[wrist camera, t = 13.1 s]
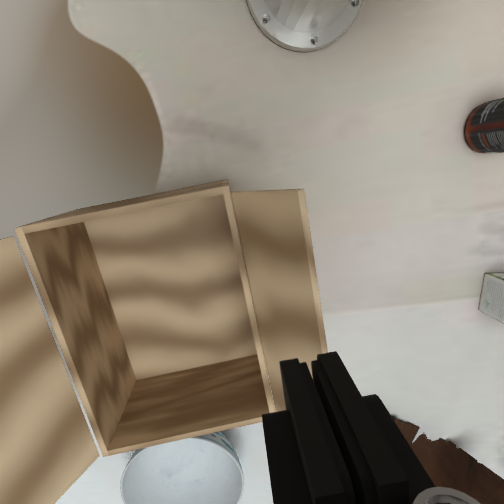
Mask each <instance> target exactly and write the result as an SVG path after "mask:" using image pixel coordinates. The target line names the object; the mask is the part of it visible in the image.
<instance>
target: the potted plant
mask: <svg viewBox="0 0 504 504" xmlns="http://www.w3.org/2000/svg"><path fill="white" fill-rule="evenodd" d="M393 420H394V419H393ZM394 422H395V423H396V425H397V426H398V428H399V429H400V431H401V433H402V434H403V436H404V437H405V439H406V441H407V442H408V444H409V445H410V447H411V448H412V450H413V452H414V453H415V455H416V456H417V458H418V460H419V461H420V463H421V464H422V466H423V468H424V469H425V471H426V472H427V474H428V475H429V477H430V479H431V480H432V482H433V483H434V485H435V487H446V488H452V489H455V490H458V491H460V492H463V493H465V494H467V495H469V496H470V497H472V498H474V499H475V500H477V501H478V502H479V503H480V504H504V479H502V478H501V477H499V476H498V475H497V474H495V473H494V472H493V471H491V470H490V469H488V468H487V467H486V466H484V465H483V464H481V463H478V462H477V460H476V459H475V458H473V457H472V456H470V455H469V454H468V453H466V452H465V451H463V450H462V449H461V448H459V449H458V448H456V445H455V444H453V443H452V442H451V441H448V442H445V440H443V439H441V438H439V440H436V441H432V442H431V440H430V439H427V437H426V435H425V434H422V435H420V436H419V437H418V438H417V439H416V440H415V442H413V444H412V441H413V439H414V438H415V435H416V434H417V432H418V430H419V428H420V427H418V426H416V425H412V424H410V423H407V424H406V422H403V423H402V421H401V422H400V421H399V420H398V419H395V420H394ZM425 437H426V438H425Z"/></svg>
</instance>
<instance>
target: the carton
mask: <svg viewBox="0 0 504 504" xmlns="http://www.w3.org/2000/svg"><path fill="white" fill-rule="evenodd" d="M15 232H16V234H17V237H18V239H19V242H20V245H21V247H22V250H23V252H24V255H25V257H26V260H27V262H28V265H29V268H30V270H31V273H32V275H33V278H34V281H35V283H36V285H37V288H38V291H39V293H40V296H41V298H42V301H43V304H44V306H45V309H46V311H47V314H48V316H49V319H50V322H51V324H52V327H53V329H54V332H55V334H56V337H57V340H58V342H59V345H60V347H61V350H62V352H63V355H64V358H65V360H66V363H67V365H68V368H69V370H70V373H71V375H72V378H73V381H74V383H75V386H76V388H77V391H78V393H79V396H80V399H81V401H82V404H83V406H84V409H85V411H86V414H87V417H88V419H89V422H90V424H91V427H92V429H93V432H94V435H95V437H96V440H97V442H98V445H99V447H100V450H101V452H102V455H103V457H105V456H110V455H114V454H119V453H123V452H128V451H132V450H137V449H141V448H146V447H150V446H155V445H159V444H164V443H169V442H173V441H178V440H182V439H187V438H191V437H196V436H200V435H205V434H209V433H214V432H218V431H223V430H227V429H232V428H236V427H241V426H245V425H250V424H255V423H259V422H263V421H262V414H267V413H272V412H275V407H274V402H273V398H272V393H271V388H270V383H269V378H268V373H267V368H266V364H265V359H264V354H263V349H262V344H261V339H260V334H259V329H258V325H257V320H256V315H255V310H254V305H253V300H252V295H251V290H250V286H249V281H248V276H247V271H246V266H245V261H244V256H243V252H242V247H241V242H240V237H239V232H238V227H237V222H236V217H235V213H234V208H233V203H232V198H231V193H230V188H229V184H228V179H227V180H222V181H217V182H212V183H207V184H202V185H197V186H192V187H187V188H182V189H177V190H172V191H167V192H162V193H157V194H152V195H147V196H142V197H137V198H132V199H127V200H122V201H117V202H112V203H107V204H102V205H97V206H92V207H87V208H82V209H77V210H73V211H70V212H67V213H63V214H60V215H57V216H53V217H50V218H47V219H43V220H40V221H37V222H33V223H30V224H27V225H23V226H20V227H17V228H15Z"/></svg>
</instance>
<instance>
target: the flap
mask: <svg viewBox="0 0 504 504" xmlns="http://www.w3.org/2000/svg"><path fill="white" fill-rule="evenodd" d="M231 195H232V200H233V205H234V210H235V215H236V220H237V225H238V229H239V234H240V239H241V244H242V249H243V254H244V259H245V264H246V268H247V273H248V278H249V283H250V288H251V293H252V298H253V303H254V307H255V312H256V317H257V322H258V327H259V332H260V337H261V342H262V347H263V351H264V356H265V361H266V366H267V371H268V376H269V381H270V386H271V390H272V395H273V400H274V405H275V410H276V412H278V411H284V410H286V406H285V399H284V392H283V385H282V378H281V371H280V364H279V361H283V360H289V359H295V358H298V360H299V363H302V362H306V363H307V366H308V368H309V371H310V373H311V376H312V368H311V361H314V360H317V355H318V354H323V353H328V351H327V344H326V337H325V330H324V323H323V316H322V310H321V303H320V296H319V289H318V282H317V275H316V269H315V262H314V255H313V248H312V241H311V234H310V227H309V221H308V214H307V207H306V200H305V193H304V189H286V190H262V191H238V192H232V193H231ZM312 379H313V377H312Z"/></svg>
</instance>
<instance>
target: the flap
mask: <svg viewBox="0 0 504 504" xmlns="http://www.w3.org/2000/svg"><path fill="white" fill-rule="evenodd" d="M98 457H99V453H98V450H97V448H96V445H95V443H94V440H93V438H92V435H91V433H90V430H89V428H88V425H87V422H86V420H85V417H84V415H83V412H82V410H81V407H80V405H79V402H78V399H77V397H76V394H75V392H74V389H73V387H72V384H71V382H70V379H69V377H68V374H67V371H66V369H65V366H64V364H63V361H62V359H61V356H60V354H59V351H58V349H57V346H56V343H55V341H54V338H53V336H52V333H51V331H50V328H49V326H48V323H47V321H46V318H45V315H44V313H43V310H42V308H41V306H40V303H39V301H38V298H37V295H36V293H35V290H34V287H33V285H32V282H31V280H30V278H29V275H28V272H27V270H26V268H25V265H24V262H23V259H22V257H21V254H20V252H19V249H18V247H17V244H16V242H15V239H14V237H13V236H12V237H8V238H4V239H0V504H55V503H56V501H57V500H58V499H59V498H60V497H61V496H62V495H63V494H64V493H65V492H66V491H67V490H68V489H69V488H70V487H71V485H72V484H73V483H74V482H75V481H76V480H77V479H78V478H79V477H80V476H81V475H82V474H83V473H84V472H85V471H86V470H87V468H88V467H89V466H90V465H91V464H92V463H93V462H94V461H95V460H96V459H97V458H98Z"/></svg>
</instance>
